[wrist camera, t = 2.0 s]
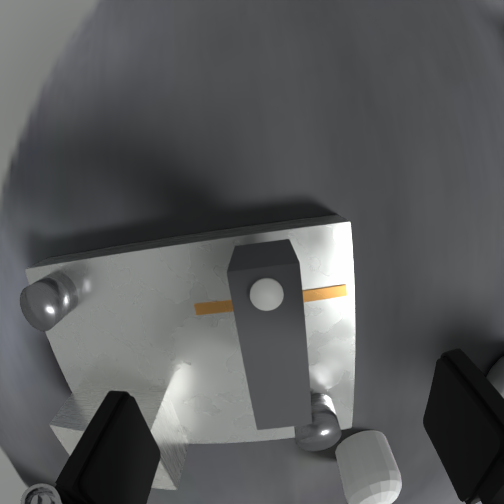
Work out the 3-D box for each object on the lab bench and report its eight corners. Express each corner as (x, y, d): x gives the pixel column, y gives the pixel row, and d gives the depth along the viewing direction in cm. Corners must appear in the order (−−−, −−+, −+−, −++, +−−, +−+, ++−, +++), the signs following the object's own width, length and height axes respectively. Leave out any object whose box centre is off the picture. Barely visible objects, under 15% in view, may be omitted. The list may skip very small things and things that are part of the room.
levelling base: (343, 404, 24) (371, 492, 14) (107, 416, 25) (68, 487, 16) (337, 214, 20) (400, 251, 10) (47, 258, 21) (-38, 302, 12)
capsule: (357, 467, 26) (372, 524, 19) (323, 454, 26) (336, 518, 18) (395, 439, 25) (419, 496, 17) (364, 423, 24) (388, 488, 17)
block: (299, 358, 19) (312, 426, 13) (257, 364, 19) (256, 433, 13) (286, 231, 17) (300, 263, 11) (237, 238, 17) (226, 273, 11)
